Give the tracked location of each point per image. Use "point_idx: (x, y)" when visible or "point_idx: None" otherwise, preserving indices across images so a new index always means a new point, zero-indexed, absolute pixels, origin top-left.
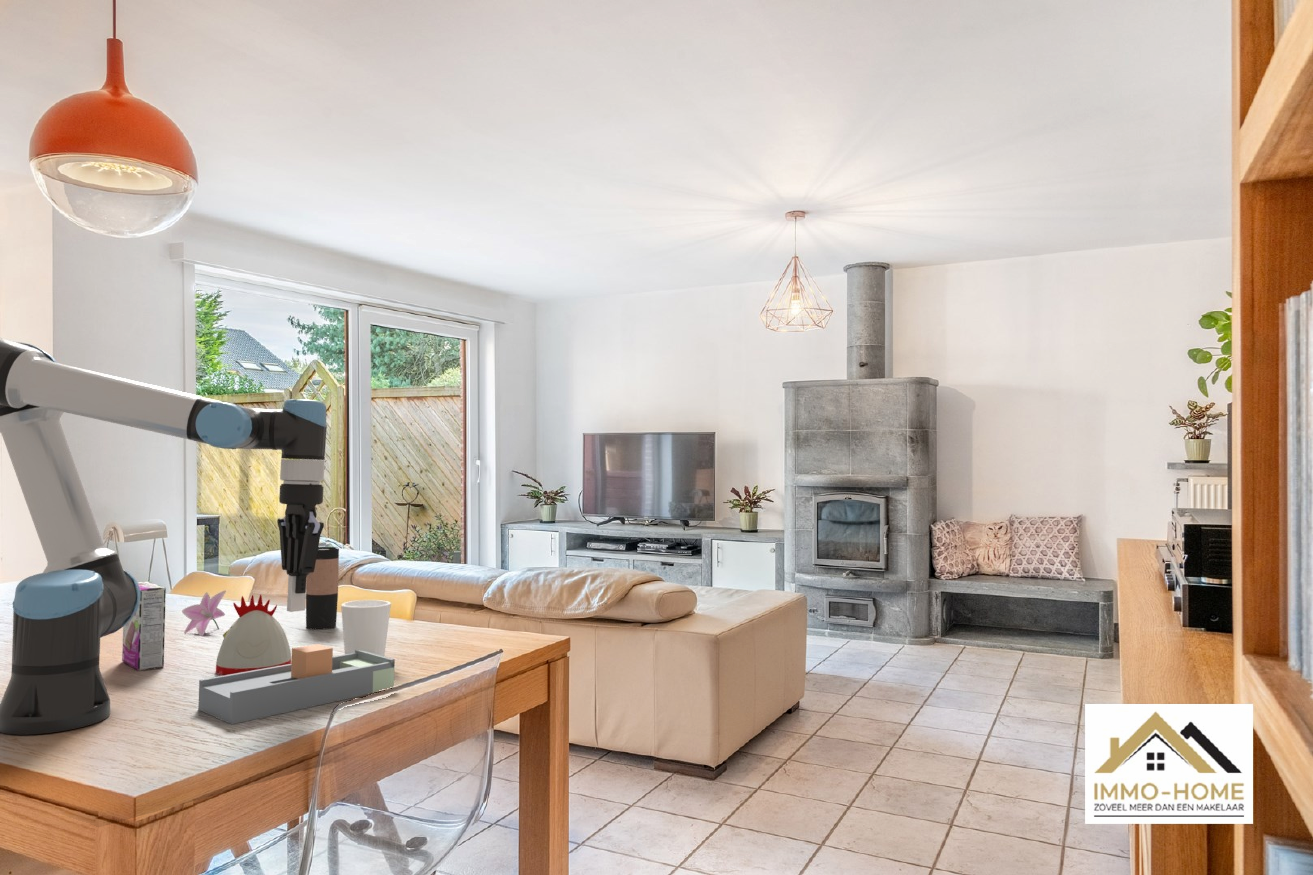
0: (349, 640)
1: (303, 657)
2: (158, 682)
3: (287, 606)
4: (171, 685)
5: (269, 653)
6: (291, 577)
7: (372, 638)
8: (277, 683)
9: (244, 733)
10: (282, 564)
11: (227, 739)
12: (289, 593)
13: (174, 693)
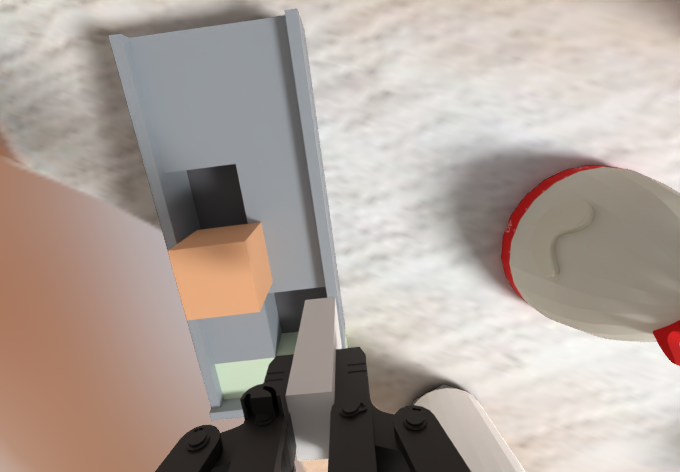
0: (449, 424)
1: (188, 244)
2: (617, 25)
3: (331, 305)
4: (563, 43)
5: (529, 266)
6: (298, 388)
7: None
8: (148, 156)
9: (69, 52)
10: (431, 431)
11: (42, 9)
12: (318, 335)
13: (482, 27)
